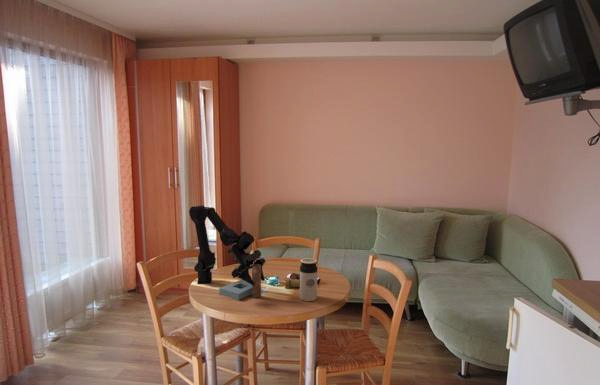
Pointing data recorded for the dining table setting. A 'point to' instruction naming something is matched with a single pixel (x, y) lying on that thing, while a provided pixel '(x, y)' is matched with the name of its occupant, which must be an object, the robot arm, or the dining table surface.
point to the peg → (256, 280)
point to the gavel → (292, 282)
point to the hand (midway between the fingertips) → (258, 282)
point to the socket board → (236, 290)
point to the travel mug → (308, 279)
